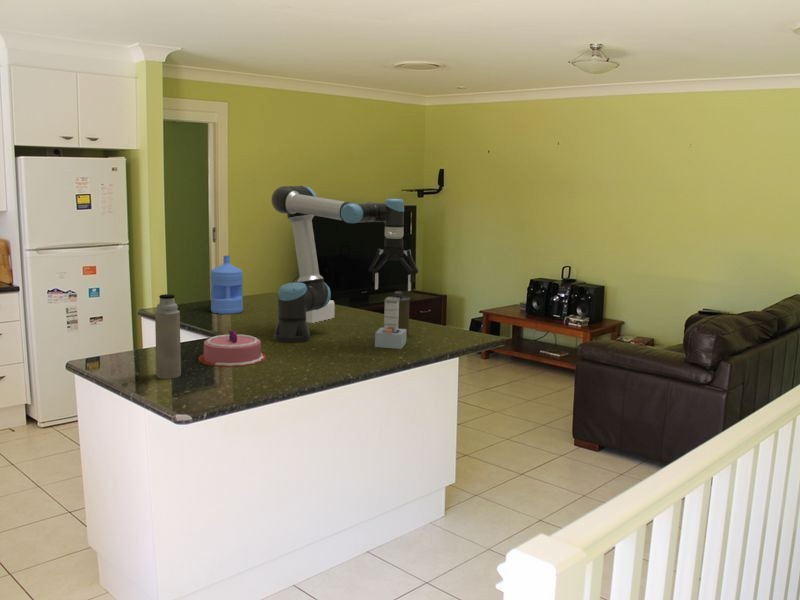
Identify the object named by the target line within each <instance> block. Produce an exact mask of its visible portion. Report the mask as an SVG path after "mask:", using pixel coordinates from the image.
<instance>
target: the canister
mask: <svg viewBox="0 0 800 600" xmlns="http://www.w3.org/2000/svg"><path fill="white" fill-rule="evenodd" d="M388 297H393V298H400V301H399V321H398V322H399V323H398V329H407V332H406V338H407V337H408V336H409V332H410V331H409V329H410V328H409V327H410V300H411V297H409V296H405V295H404V293H403V291H394V295H390V296H388Z"/></svg>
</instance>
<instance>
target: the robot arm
mask: <svg viewBox="0 0 800 600" xmlns="http://www.w3.org/2000/svg"><path fill="white" fill-rule="evenodd" d="M271 205H272V207H273V208H274V210H275V211H276V212H279V213H280V214H285V215H286V216H287V220H289V222H291V225H292V232H293V233H292V234H293V239H294V246H295V252H296V253H295V254H296V259H297V260H296V261H297V266H298V267H297V268H298V274H299V275H298V276H299V278H298V279H297V281H295V282H288V283H285V284H282V285H281V286H279V287H278V294H277V297H278V299H277V301H278V308H277V309H278V313H277V314H278V317H277V318H278V320H277V321H278V322H277V324H276V328H275V330H274V334H273V335H274V337H273V339H274V340H275V341H277V342H280V343H281V342H282V343H294V344H295V343H304V342H308V341H310V340H311V332H310V330H309V325H308V323H307V322H306V312H308V311H312V310H318V309H321V308H323V307H325V306H326V305H327V304H328V302H329V301H330V300H331V297H332V296H331V295H332V293H331V289H330V286H328V284H327V283H326V282H325V281H324V277H323V276H322V275H320V269H319V263H318V256H317V248H316V242H315V233H314V228H313V221H312V220H313V219H314V217H315V216H316V217H322V218H326V219H327V218H328V219H333V220H338V221H344V222H345V223H347V224H357V223H373V222H375V223H376V222H377V223H384V237H385V238H384V249H381V248H377V249H376V252H375V256H374V258H373V259H372V261H371V264H370V265H369V267H368V269H367V271H368V272H370V273H372V281H373V282H374V290H378V289H379V272H378V271H379V270H380V269H381V267H382V266H383V265H384V264H386V262H387V261H390V262H391V261H393V262H398V261H399V262H400V263H401V264H402V265H403V267H404V269H406V271H407V272H408V273H409V274H408V275H407V279H408V280H407V292H411V291H412V284H414V282H415V281H414V279H415V278H414V277H415V275H416V274H418V273H419V270H418V267H417V265H416V263H415V261H414V258H413V256H412V250H411V249H408V250H405V249H404V239H403V237H404V235H405V234H404V228H405V227H404V222H405V220H404V219H405V218H404V217H405V201H404V200H403V198H385V201H384V203H382V202H381V203H379V202H371V201H370V202H362V203H360V202H359V203H355V202H352V201H351V202H350V201H343V200H338V199H331V198H325V197H318V196H317V194H316V191H314V189H312V188H311V187H308V186H304V185H284V186H280V187H278V188H276V189H275V190H274V191H273V193H272V195H271ZM382 254H384V256H385V257H384V258H383V259H382V260H381V261H380V262H379V263H378V264H377V266H375V265H376V263H377V262H378V260H379V258H380V256H381V255H382ZM404 254H405V256H406V257H407V259H408V261H409V263H410V265H409V264H408V262H407V261H406V260H405V258H404V257H403V256H404Z"/></svg>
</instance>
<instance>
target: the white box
mask: <svg viewBox="0 0 800 600" xmlns="http://www.w3.org/2000/svg"><path fill="white" fill-rule="evenodd" d="M335 310H336V309H335V301H334V300H331V299H330V301H329V302H328V304H327V305H326V306H325V307H323V308H321V309H318V310H312V311H308V312H306V322H308V323H307V324H310V323H314V324H316V323H315V322H318V323H320V322H319V321H322V322H324V320H326V321H329V320H328V319H330V320H332V318H334V319H335Z"/></svg>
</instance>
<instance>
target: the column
mask: <svg viewBox="0 0 800 600" xmlns="http://www.w3.org/2000/svg"><path fill="white" fill-rule="evenodd" d="M383 301H384V303H383V304H384V309H383V310H384V315H383V317H384V318H383V319H384V320H383V321H384V322H383V328H384V332H385V330H386V329H392V333H398V323H399V322H398V321H399V301H400V298H393V297H389V296H386V297H385V299H384V300H383Z"/></svg>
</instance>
